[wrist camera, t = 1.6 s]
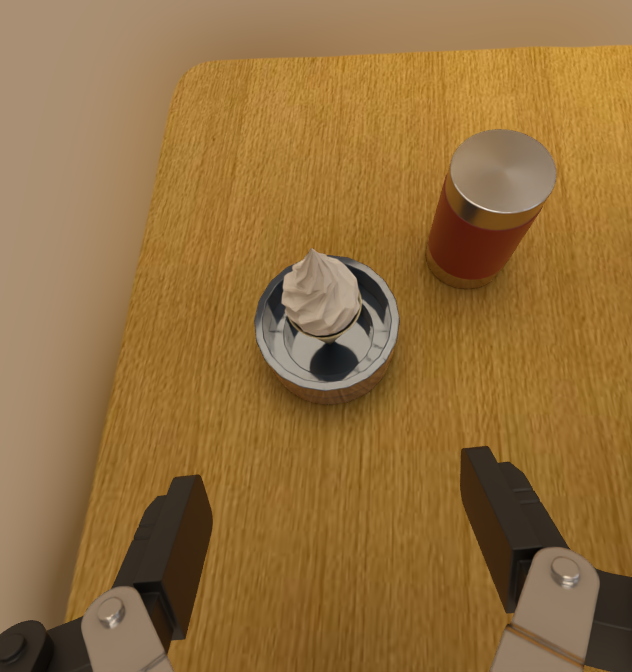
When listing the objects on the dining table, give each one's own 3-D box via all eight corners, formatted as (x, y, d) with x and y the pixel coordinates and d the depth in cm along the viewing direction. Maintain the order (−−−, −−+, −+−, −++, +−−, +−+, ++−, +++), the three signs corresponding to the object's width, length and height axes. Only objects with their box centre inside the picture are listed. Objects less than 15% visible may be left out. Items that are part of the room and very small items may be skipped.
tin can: (476, 210, 41) (518, 113, 30) (519, 269, 38) (580, 186, 28) (410, 241, 40) (430, 153, 30) (450, 302, 38) (485, 230, 28)
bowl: (357, 268, 40) (357, 234, 35) (416, 370, 36) (426, 349, 31) (249, 318, 39) (233, 291, 34) (299, 427, 36) (290, 416, 30)
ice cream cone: (305, 309, 38) (276, 202, 24) (364, 318, 38) (370, 212, 24) (293, 365, 37) (255, 286, 23) (355, 375, 36) (354, 299, 22)
